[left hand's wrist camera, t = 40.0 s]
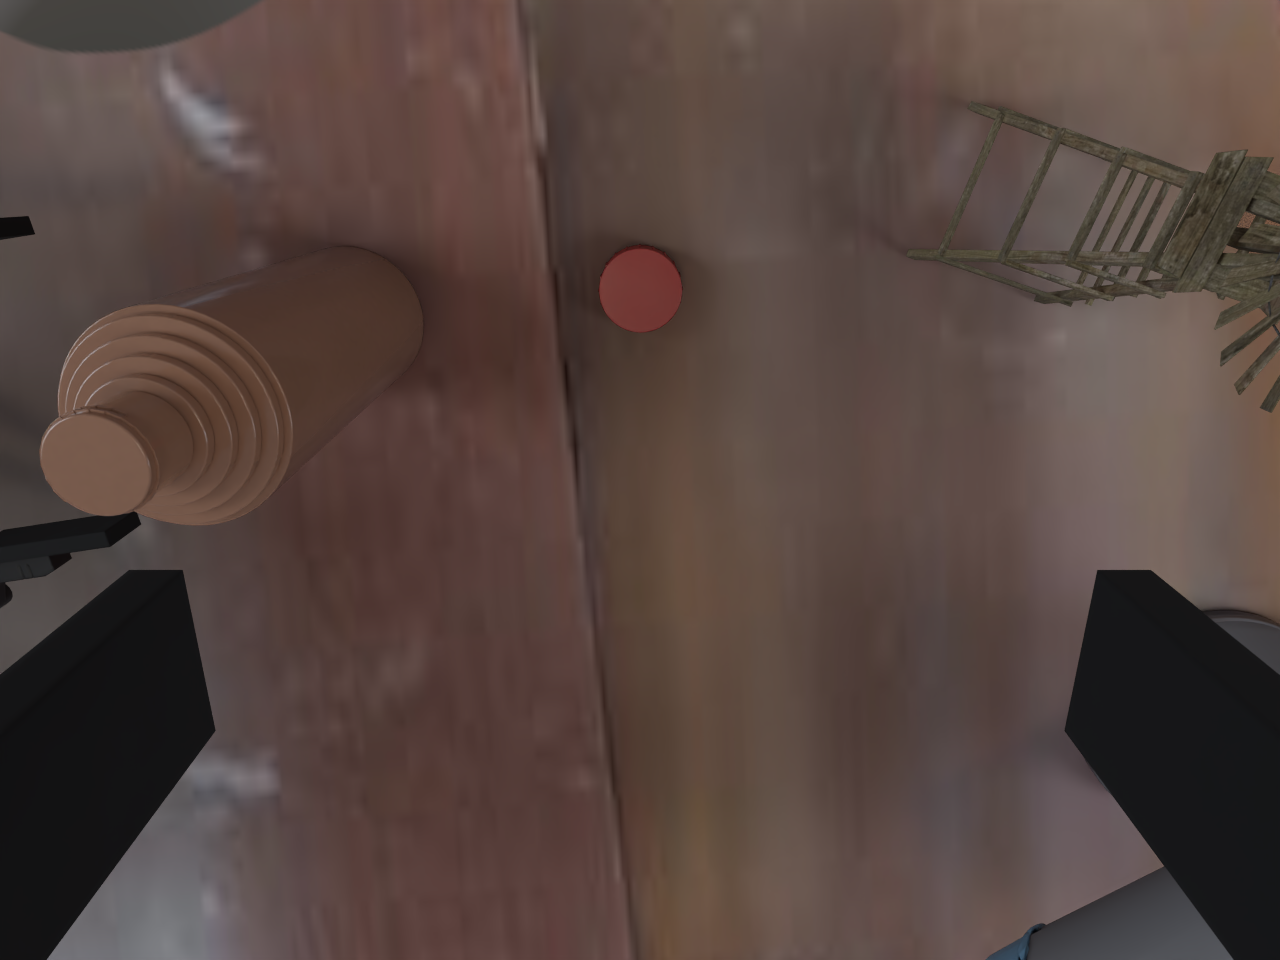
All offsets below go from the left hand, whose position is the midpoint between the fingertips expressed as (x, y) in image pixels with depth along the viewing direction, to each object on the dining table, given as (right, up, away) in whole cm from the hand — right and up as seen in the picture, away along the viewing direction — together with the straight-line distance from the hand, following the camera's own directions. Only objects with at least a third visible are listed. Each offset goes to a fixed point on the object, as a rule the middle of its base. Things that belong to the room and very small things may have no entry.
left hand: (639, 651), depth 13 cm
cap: (0, +13, +34) cm, 36 cm away
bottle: (-16, +11, +36) cm, 41 cm away
